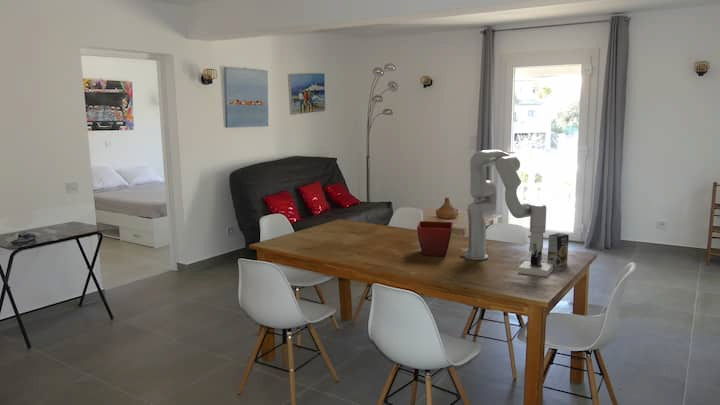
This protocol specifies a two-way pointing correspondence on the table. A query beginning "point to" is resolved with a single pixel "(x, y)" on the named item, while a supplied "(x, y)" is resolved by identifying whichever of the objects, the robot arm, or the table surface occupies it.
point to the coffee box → (558, 249)
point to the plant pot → (434, 237)
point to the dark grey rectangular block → (538, 261)
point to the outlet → (535, 269)
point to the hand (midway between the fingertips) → (536, 262)
